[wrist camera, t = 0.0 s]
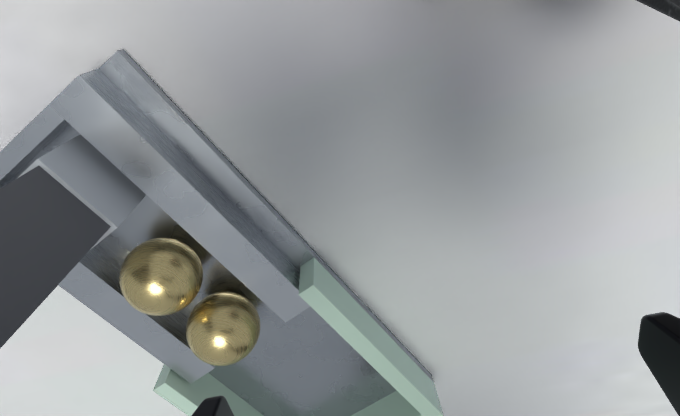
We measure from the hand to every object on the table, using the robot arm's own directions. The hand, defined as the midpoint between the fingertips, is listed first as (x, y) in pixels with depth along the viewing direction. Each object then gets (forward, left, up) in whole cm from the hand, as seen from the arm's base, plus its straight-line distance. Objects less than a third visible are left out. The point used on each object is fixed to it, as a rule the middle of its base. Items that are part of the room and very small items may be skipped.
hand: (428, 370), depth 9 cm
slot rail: (-8, +10, -15) cm, 19 cm away
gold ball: (-8, +10, -14) cm, 19 cm away
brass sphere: (-3, +12, -14) cm, 19 cm away
